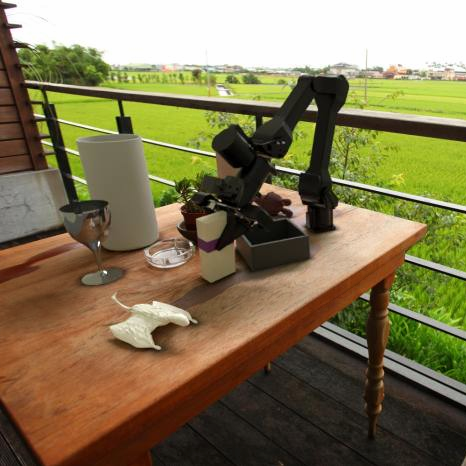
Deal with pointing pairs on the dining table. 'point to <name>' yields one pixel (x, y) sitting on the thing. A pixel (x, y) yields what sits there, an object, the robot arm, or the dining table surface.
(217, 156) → the travel mug
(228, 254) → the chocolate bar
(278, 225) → the open storage bin
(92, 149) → the cylinder vase
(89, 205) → the silver goblet
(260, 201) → the brown animal figurine
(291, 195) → the dining table surface
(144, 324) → the winged dragon toy
